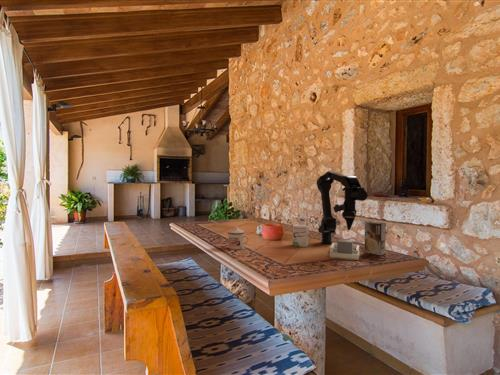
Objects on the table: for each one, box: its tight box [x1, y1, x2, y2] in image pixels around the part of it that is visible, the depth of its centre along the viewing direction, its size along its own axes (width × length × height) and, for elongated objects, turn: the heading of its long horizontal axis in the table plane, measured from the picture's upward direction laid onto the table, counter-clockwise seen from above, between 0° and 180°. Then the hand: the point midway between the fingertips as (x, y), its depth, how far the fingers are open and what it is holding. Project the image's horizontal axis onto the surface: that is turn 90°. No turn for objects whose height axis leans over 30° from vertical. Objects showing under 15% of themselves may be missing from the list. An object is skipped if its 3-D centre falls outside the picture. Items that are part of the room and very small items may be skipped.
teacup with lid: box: [227, 226, 250, 250], centre depth 175 cm, size 12×9×12 cm
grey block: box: [336, 238, 354, 254], centre depth 159 cm, size 5×7×7 cm
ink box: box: [292, 223, 309, 248], centre depth 183 cm, size 8×5×12 cm, turn 76°
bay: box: [329, 242, 360, 252], centre depth 171 cm, size 14×14×2 cm
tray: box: [329, 248, 361, 261], centre depth 159 cm, size 10×14×2 cm
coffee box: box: [364, 221, 387, 256], centre depth 167 cm, size 9×6×16 cm
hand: (349, 228), depth 171 cm, fingers open, 9 cm apart
